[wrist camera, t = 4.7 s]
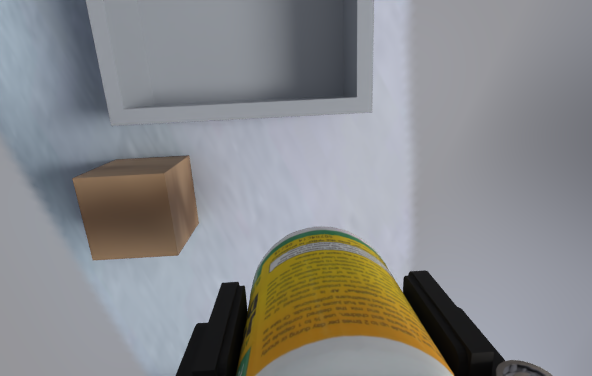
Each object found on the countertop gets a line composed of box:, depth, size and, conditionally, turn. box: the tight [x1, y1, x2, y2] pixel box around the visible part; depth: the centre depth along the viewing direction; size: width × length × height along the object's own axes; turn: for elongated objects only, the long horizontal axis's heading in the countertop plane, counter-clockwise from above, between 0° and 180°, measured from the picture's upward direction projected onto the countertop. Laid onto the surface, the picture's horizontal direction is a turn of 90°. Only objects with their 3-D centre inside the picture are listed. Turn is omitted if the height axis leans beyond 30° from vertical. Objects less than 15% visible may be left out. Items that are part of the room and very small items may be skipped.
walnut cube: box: [72, 156, 199, 260], centre depth 22 cm, size 5×5×5 cm
